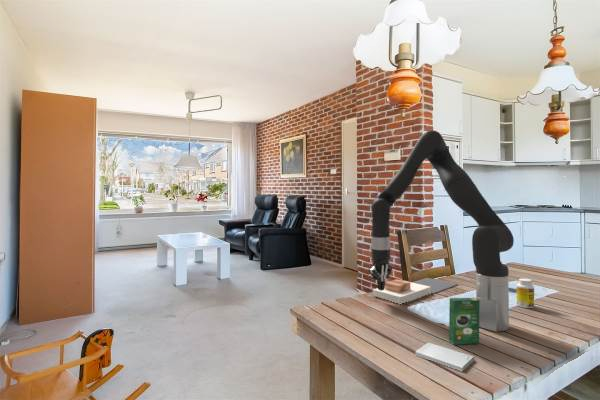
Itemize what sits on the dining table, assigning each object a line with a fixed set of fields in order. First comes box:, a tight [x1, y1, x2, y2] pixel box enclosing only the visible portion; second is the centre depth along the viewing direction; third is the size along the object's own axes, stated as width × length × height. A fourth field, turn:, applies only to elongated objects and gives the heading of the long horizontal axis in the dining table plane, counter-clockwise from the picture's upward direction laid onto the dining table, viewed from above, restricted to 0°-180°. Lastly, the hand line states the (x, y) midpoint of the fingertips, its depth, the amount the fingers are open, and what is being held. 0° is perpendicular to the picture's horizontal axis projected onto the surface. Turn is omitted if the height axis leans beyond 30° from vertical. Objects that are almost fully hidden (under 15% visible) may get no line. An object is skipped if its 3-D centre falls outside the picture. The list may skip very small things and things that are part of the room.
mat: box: [412, 277, 459, 295], centre depth 157 cm, size 22×16×1 cm
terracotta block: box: [385, 279, 411, 293], centre depth 142 cm, size 8×7×3 cm
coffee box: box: [448, 297, 480, 346], centre depth 98 cm, size 8×3×13 cm, turn 93°
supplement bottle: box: [516, 278, 535, 309], centre depth 127 cm, size 6×6×10 cm
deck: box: [372, 280, 432, 305], centre depth 144 cm, size 22×14×3 cm, turn 128°
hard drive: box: [414, 342, 475, 372], centre depth 89 cm, size 2×8×12 cm
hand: (381, 289), depth 135 cm, fingers closed
